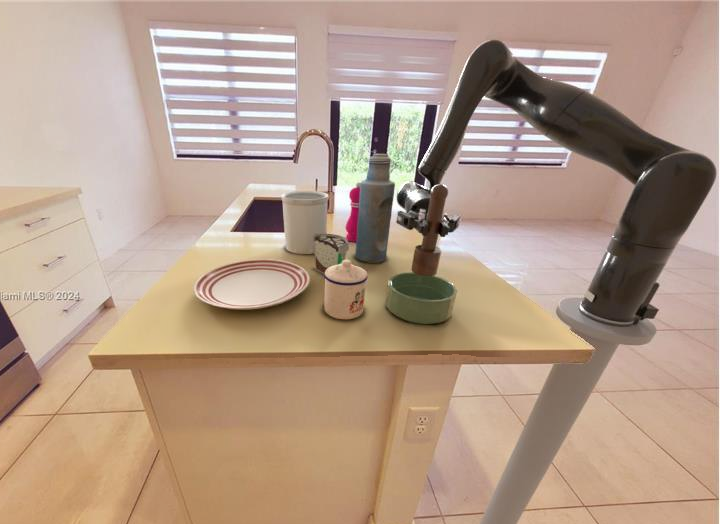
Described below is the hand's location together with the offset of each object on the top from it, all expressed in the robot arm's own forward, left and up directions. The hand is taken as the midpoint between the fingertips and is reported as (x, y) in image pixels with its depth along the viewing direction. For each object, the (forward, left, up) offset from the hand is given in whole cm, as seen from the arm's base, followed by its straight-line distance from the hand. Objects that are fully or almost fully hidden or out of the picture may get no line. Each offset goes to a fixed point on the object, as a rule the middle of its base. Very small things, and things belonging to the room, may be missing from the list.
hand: (434, 231), depth 59 cm
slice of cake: (+21, -20, -19) cm, 34 cm away
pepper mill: (+17, -52, -19) cm, 58 cm away
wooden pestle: (0, -3, -9) cm, 10 cm away
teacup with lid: (+16, -1, -19) cm, 25 cm away
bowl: (0, -3, -19) cm, 19 cm away
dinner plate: (+39, -5, -19) cm, 44 cm away
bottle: (+11, -34, -19) cm, 40 cm away
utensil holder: (+33, -39, -19) cm, 54 cm away
